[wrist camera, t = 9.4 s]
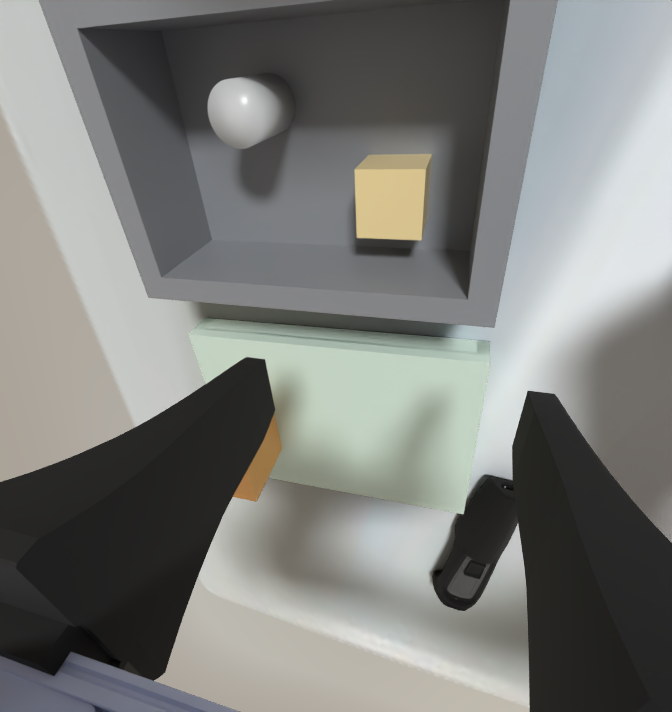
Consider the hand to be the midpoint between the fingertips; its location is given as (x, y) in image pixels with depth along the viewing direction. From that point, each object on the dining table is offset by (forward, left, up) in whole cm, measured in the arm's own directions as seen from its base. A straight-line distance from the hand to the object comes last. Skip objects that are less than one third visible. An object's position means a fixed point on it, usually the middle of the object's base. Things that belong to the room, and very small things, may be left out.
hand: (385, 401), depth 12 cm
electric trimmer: (-5, +21, -10) cm, 23 cm away
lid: (+4, +10, -9) cm, 14 cm away
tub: (+4, -5, -9) cm, 11 cm away
